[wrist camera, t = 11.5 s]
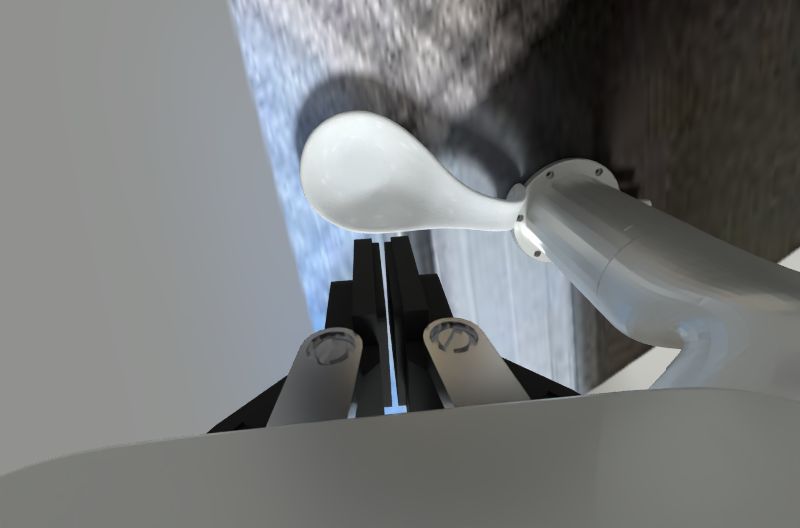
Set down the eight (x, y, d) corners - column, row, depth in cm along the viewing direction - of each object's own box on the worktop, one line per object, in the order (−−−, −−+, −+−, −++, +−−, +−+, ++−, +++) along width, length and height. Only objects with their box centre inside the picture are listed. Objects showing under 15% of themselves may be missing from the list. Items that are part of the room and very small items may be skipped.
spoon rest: (297, 208, 41) (286, 234, 34) (311, 93, 35) (300, 99, 29) (496, 245, 45) (518, 274, 39) (534, 148, 40) (566, 164, 34)
